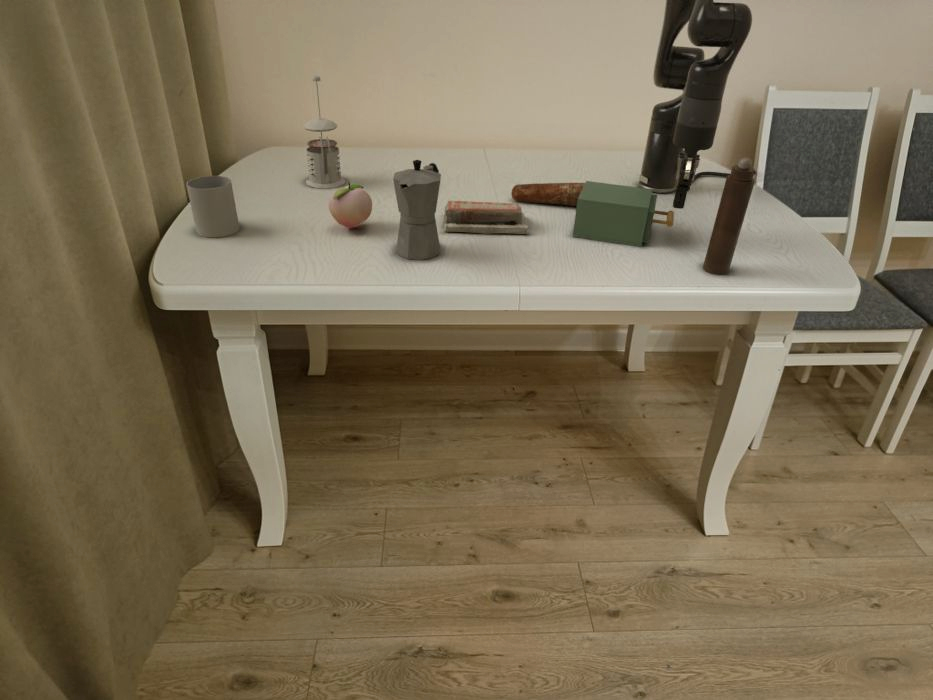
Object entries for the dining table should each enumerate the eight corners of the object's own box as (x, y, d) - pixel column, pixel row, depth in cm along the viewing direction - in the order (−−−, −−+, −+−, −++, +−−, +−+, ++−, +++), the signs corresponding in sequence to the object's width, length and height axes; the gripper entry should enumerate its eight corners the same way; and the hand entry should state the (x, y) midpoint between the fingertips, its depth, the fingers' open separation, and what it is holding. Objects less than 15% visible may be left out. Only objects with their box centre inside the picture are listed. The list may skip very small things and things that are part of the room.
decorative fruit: (360, 239, 127) (357, 192, 122) (325, 233, 130) (320, 186, 124) (381, 224, 135) (379, 178, 129) (347, 218, 137) (344, 173, 131)
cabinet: (645, 225, 139) (652, 189, 134) (641, 246, 129) (649, 208, 125) (581, 216, 142) (586, 180, 138) (572, 236, 132) (577, 198, 128)
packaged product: (443, 211, 129) (444, 195, 137) (443, 233, 132) (444, 216, 140) (530, 213, 129) (525, 197, 138) (528, 235, 132) (524, 218, 140)
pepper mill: (715, 262, 124) (745, 152, 112) (733, 272, 120) (767, 160, 108) (697, 266, 122) (726, 155, 110) (715, 276, 118) (747, 162, 106)
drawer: (670, 226, 137) (677, 197, 133) (668, 245, 128) (676, 214, 124) (590, 215, 141) (595, 186, 137) (583, 233, 132) (588, 203, 128)
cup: (199, 239, 125) (189, 191, 119) (194, 225, 131) (183, 178, 125) (243, 233, 128) (234, 185, 122) (235, 219, 134) (227, 173, 129)
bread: (590, 210, 146) (593, 187, 143) (509, 203, 148) (511, 180, 145) (590, 201, 151) (593, 179, 148) (512, 194, 153) (514, 172, 150)
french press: (342, 174, 162) (334, 71, 148) (349, 189, 153) (341, 80, 139) (303, 177, 159) (292, 71, 146) (309, 191, 150) (297, 81, 137)
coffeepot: (425, 268, 117) (425, 173, 107) (381, 259, 120) (377, 166, 110) (456, 238, 129) (458, 151, 119) (415, 231, 132) (414, 145, 122)
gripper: (719, 131, 113) (696, 221, 123) (716, 115, 124) (696, 198, 134) (676, 127, 115) (657, 216, 125) (678, 111, 126) (660, 194, 135)
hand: (677, 206), depth 129 cm, fingers closed
